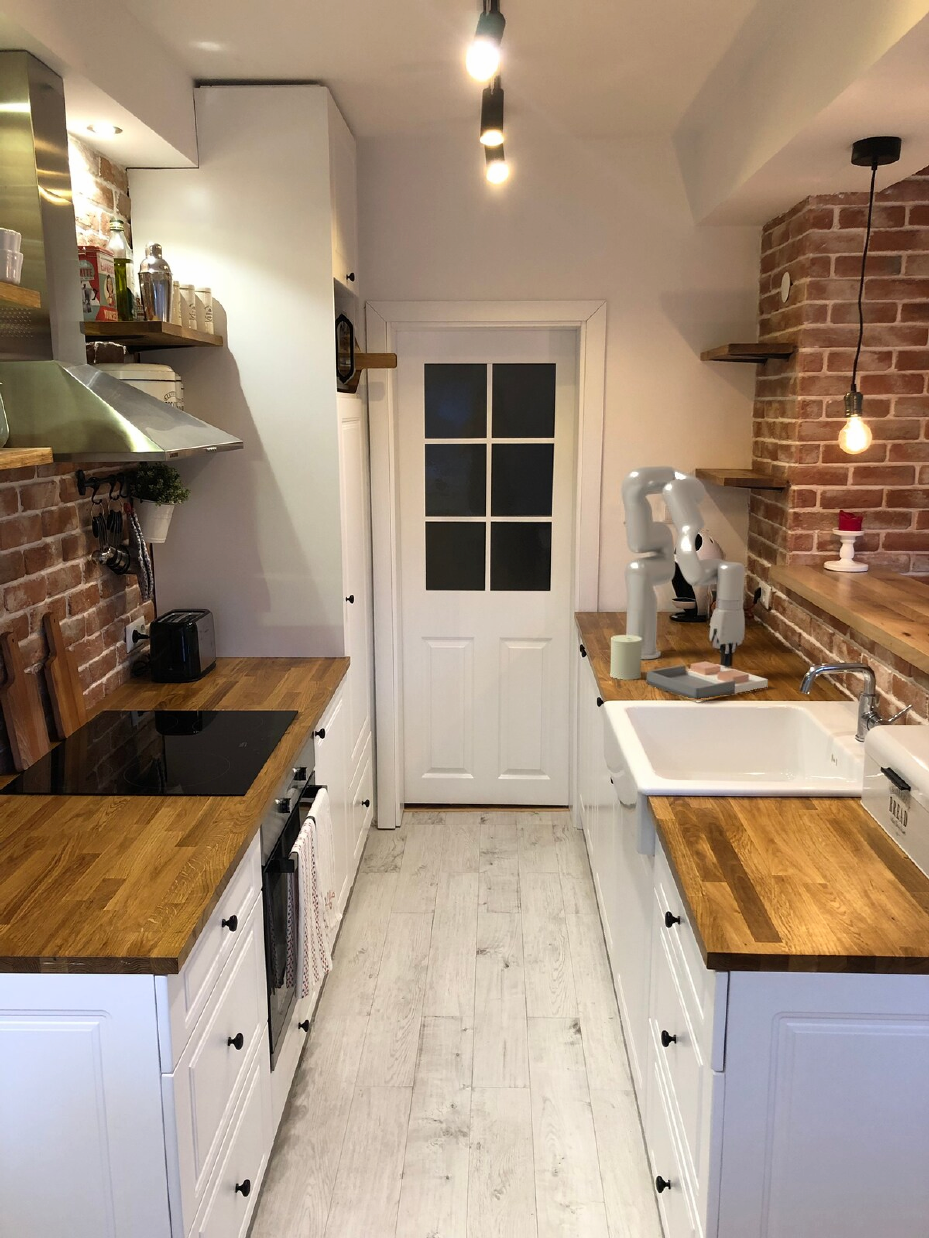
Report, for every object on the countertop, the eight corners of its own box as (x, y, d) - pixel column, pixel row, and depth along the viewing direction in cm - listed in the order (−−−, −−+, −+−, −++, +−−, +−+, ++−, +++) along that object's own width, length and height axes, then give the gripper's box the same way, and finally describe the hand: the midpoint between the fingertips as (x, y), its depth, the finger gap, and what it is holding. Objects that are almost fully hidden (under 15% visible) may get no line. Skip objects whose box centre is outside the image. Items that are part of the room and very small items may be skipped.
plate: (684, 678, 286) (684, 669, 286) (716, 672, 293) (717, 664, 292) (733, 694, 269) (734, 686, 269) (767, 687, 276) (767, 679, 275)
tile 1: (690, 670, 285) (690, 664, 284) (705, 667, 288) (706, 661, 287) (704, 675, 280) (705, 668, 279) (720, 672, 283) (720, 665, 282)
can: (617, 681, 284) (618, 641, 281) (604, 673, 292) (605, 634, 290) (646, 678, 286) (647, 639, 284) (633, 670, 295) (634, 632, 292)
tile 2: (717, 679, 276) (717, 672, 275) (732, 676, 278) (733, 669, 278) (732, 684, 270) (733, 677, 270) (748, 681, 273) (748, 674, 273)
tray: (646, 684, 280) (646, 671, 279) (683, 677, 286) (683, 664, 286) (696, 702, 262) (697, 688, 261) (734, 695, 269) (735, 681, 268)
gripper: (738, 600, 291) (735, 659, 294) (701, 605, 283) (698, 666, 287) (757, 604, 284) (754, 664, 288) (719, 609, 277) (716, 671, 281)
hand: (726, 665), depth 288 cm, fingers closed
